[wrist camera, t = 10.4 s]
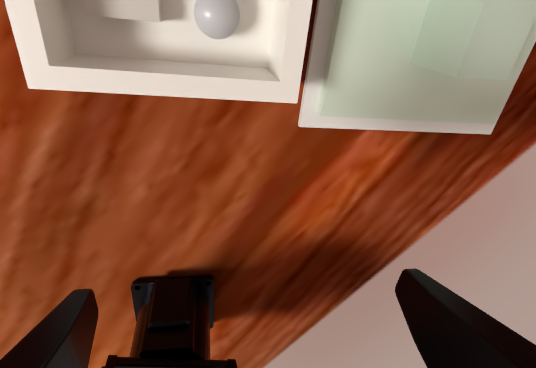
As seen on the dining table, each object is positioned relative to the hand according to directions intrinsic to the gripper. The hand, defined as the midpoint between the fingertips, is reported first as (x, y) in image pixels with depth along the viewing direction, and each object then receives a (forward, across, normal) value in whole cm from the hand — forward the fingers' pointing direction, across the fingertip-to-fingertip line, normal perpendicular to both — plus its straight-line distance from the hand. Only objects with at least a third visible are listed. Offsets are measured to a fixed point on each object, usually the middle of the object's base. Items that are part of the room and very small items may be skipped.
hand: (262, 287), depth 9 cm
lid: (+13, -12, -8) cm, 19 cm away
